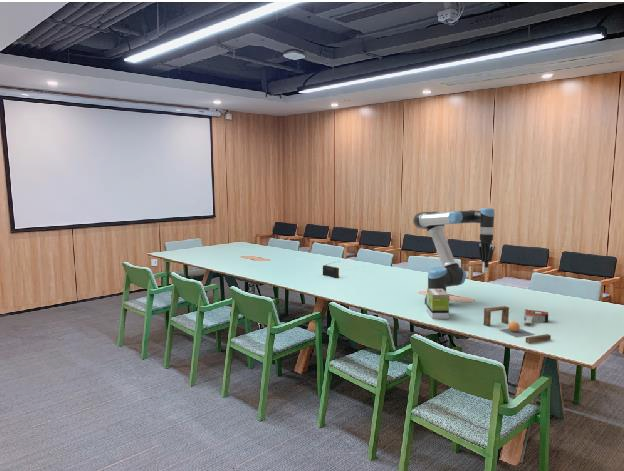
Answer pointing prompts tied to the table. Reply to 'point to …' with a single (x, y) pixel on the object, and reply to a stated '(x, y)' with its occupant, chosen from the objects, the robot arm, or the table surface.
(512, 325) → the ball
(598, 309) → the table surface
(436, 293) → the tea box
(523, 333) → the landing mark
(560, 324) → the table surface
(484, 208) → the robot arm
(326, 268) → the radio
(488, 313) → the bridge
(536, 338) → the brown wooden bar
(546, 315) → the tape dispenser
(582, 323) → the table surface
